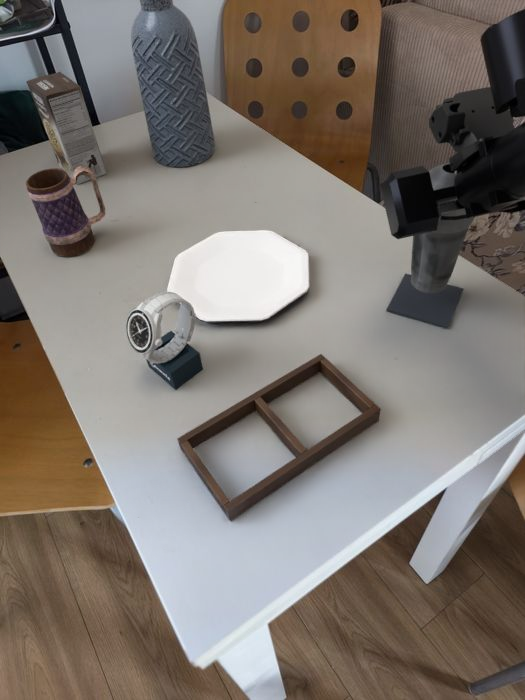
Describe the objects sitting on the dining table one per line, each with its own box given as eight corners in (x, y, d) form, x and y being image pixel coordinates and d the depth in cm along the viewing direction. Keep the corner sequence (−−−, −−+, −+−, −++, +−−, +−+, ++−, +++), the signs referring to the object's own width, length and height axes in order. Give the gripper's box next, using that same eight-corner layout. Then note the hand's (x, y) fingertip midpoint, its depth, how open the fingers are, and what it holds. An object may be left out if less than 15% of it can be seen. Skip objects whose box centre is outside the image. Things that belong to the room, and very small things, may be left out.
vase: (224, 140, 104) (203, -31, 83) (201, 171, 96) (171, -9, 75) (170, 136, 107) (135, -30, 86) (143, 165, 99) (98, -9, 78)
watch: (135, 375, 63) (110, 310, 55) (186, 340, 67) (169, 273, 59) (163, 400, 61) (140, 335, 52) (214, 362, 64) (200, 295, 56)
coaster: (463, 290, 70) (463, 288, 69) (447, 329, 65) (448, 327, 65) (404, 275, 72) (405, 273, 72) (386, 311, 68) (386, 309, 68)
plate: (161, 329, 69) (158, 321, 67) (183, 240, 82) (181, 232, 81) (310, 326, 67) (310, 318, 66) (308, 236, 80) (308, 228, 79)
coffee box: (58, 167, 101) (24, 80, 89) (88, 156, 103) (60, 69, 91) (76, 186, 96) (43, 95, 84) (108, 173, 98) (80, 84, 86)
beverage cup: (393, 266, 68) (415, 113, 54) (448, 261, 68) (485, 106, 54) (407, 303, 63) (435, 145, 49) (466, 297, 63) (513, 138, 49)
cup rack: (379, 420, 57) (381, 408, 55) (230, 522, 50) (227, 512, 48) (320, 365, 62) (321, 353, 61) (180, 449, 56) (176, 438, 54)
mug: (53, 263, 80) (21, 193, 71) (49, 238, 85) (19, 170, 76) (118, 245, 82) (95, 176, 73) (111, 222, 87) (89, 154, 78)
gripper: (598, 51, 45) (495, 126, 61) (400, 88, 43) (345, 156, 58) (624, 177, 46) (515, 219, 61) (430, 220, 43) (367, 253, 59)
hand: (437, 210), depth 60 cm, fingers closed on beverage cup, 7 cm apart
